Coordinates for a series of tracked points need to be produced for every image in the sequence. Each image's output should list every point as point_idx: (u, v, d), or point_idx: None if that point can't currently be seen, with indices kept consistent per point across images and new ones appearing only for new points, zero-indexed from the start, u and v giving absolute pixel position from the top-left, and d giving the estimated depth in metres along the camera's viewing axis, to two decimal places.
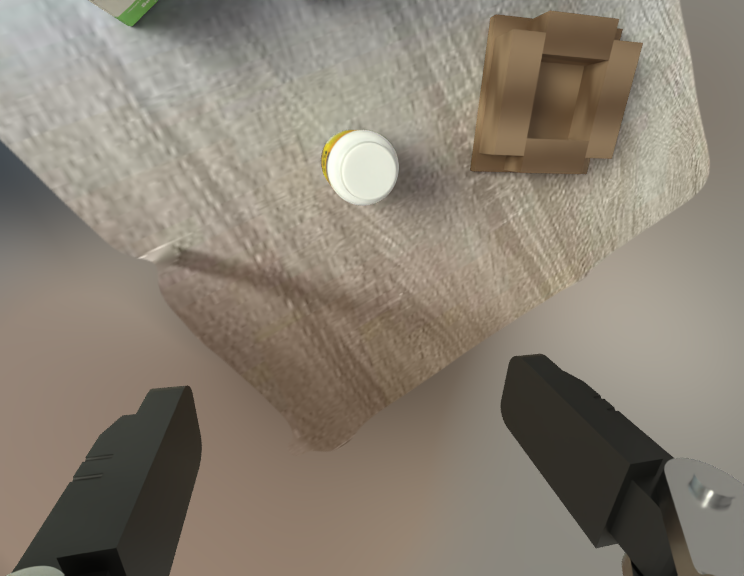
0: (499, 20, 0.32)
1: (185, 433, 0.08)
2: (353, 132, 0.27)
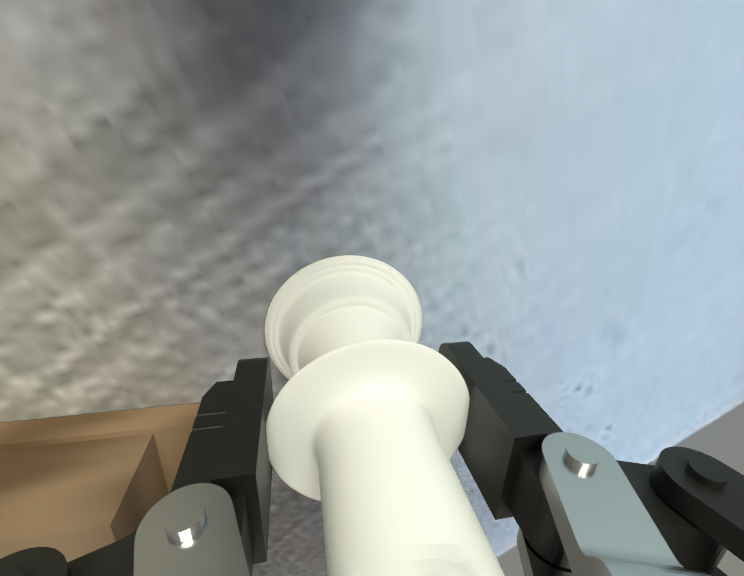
0: None
1: (269, 397, 0.09)
2: None
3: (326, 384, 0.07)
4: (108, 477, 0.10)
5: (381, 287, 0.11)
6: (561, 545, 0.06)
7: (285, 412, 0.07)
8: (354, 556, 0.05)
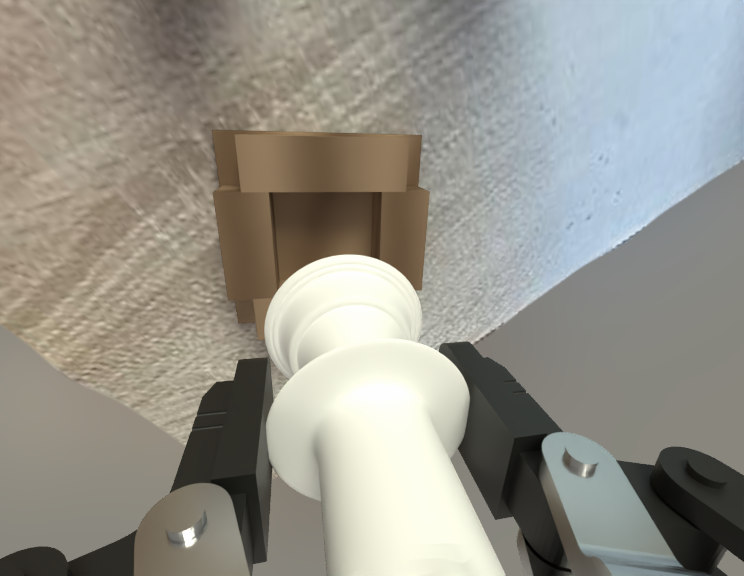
0: (415, 141, 0.24)
1: (269, 397, 0.09)
2: None
3: (326, 383, 0.07)
4: None
5: (381, 286, 0.11)
6: (561, 545, 0.06)
7: (285, 411, 0.07)
8: (354, 556, 0.05)
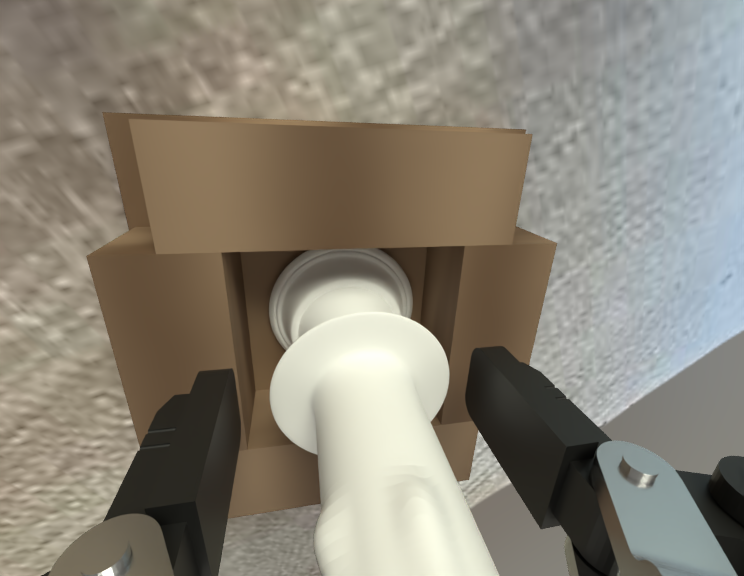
0: None
1: (231, 411, 0.08)
2: None
3: (321, 350, 0.09)
4: None
5: (374, 270, 0.12)
6: None
7: (287, 374, 0.09)
8: (341, 477, 0.06)
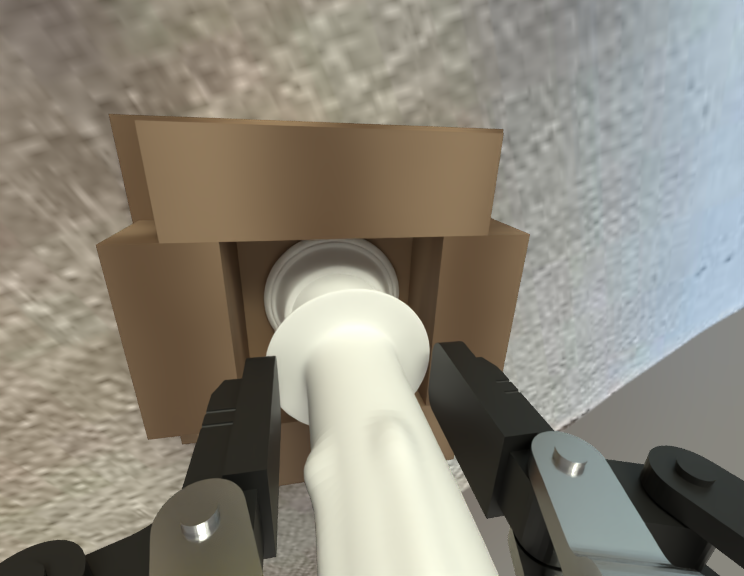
0: None
1: (276, 396, 0.09)
2: None
3: (312, 324, 0.10)
4: None
5: (361, 259, 0.13)
6: (550, 543, 0.06)
7: (280, 347, 0.10)
8: (328, 423, 0.07)
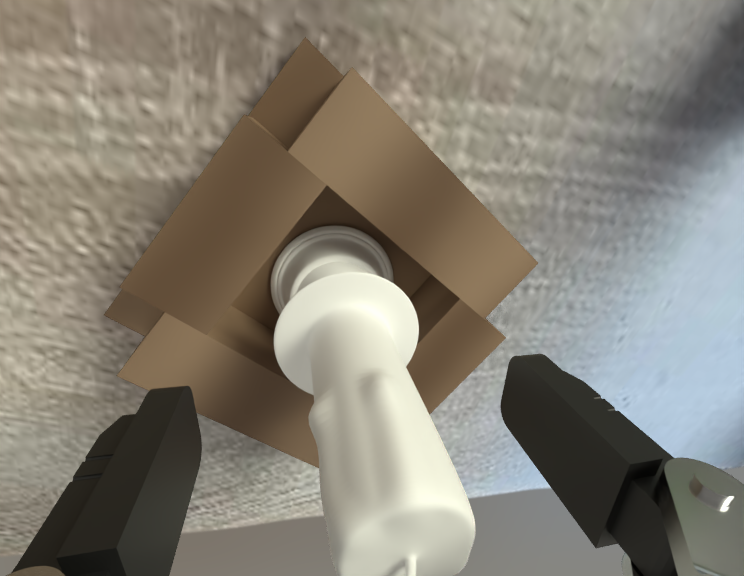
0: None
1: (185, 433, 0.08)
2: None
3: (314, 303, 0.11)
4: None
5: (358, 249, 0.15)
6: None
7: (287, 324, 0.11)
8: (328, 380, 0.08)
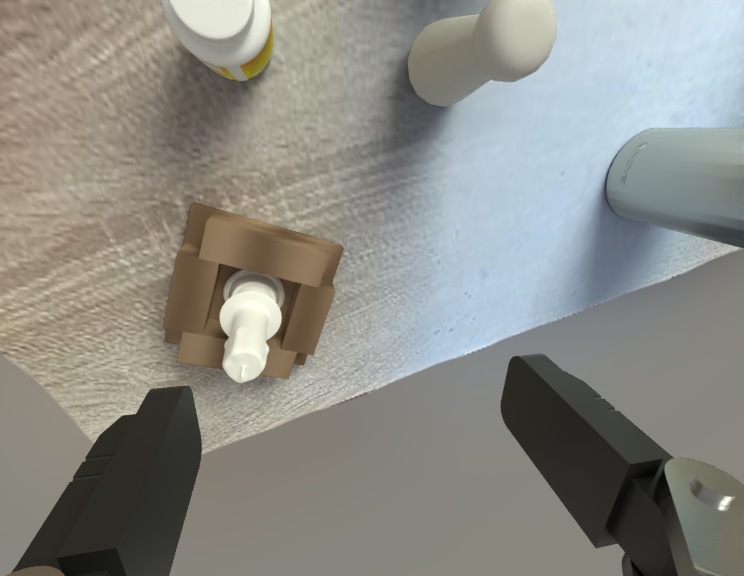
0: (338, 251, 0.34)
1: (184, 433, 0.08)
2: (269, 10, 0.20)
3: (229, 310, 0.28)
4: (320, 248, 0.31)
5: (254, 276, 0.32)
6: None
7: (223, 320, 0.29)
8: (229, 334, 0.26)
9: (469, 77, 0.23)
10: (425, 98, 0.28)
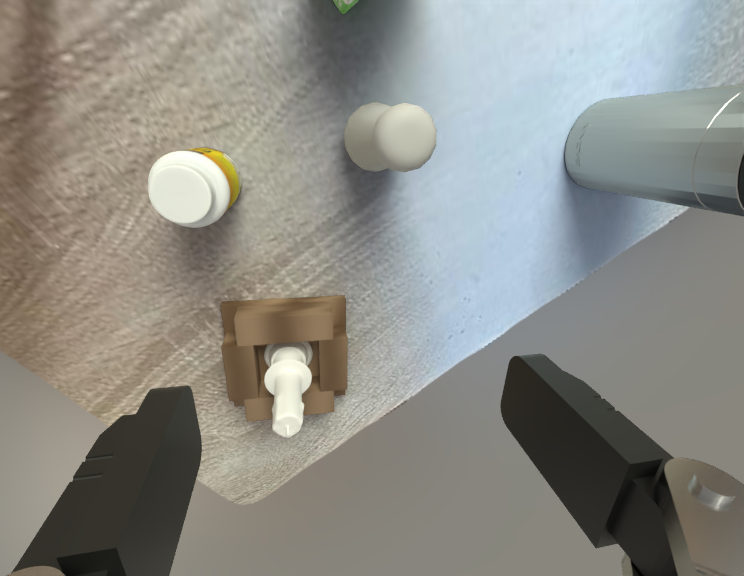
0: (342, 302, 0.40)
1: (185, 433, 0.08)
2: (224, 179, 0.27)
3: (270, 378, 0.37)
4: (325, 307, 0.38)
5: None
6: None
7: (268, 386, 0.37)
8: (274, 400, 0.34)
9: None
10: (369, 170, 0.34)
